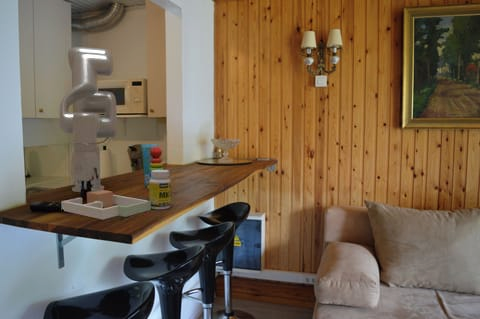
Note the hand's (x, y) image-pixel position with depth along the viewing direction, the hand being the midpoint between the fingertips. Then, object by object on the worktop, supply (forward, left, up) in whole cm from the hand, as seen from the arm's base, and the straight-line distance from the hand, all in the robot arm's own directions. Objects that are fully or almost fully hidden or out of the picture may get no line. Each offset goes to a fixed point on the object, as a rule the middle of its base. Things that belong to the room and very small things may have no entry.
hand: (86, 199), depth 130 cm
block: (+7, 0, -2) cm, 7 cm away
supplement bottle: (+26, +10, -2) cm, 28 cm away
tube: (-8, +40, -2) cm, 41 cm away
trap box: (+14, -3, -1) cm, 14 cm away
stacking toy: (+2, +34, -2) cm, 34 cm away
